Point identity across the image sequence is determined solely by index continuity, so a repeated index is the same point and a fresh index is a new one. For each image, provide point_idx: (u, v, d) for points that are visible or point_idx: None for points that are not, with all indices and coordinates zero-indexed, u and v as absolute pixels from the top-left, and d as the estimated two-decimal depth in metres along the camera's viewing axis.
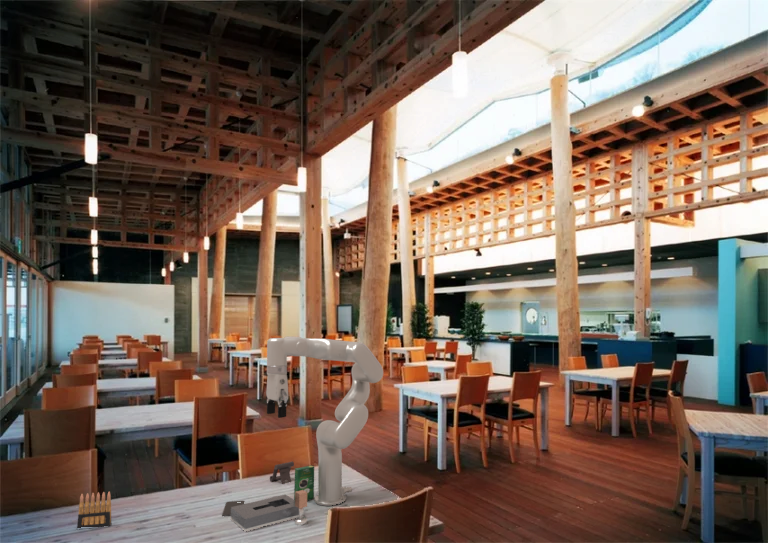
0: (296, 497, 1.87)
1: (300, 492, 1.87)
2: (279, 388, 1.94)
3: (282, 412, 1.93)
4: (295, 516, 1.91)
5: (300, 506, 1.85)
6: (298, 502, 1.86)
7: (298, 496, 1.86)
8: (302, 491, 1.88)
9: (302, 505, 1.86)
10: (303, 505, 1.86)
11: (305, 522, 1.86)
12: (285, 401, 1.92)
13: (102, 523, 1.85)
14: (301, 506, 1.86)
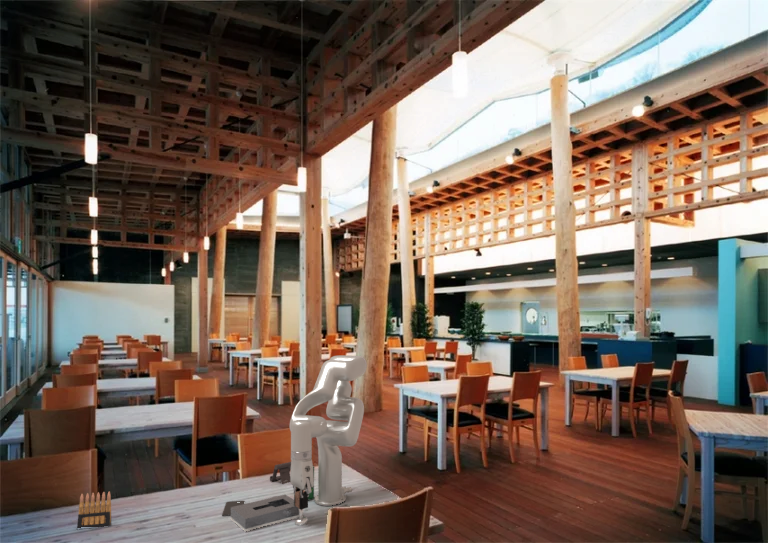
0: (296, 497, 1.87)
1: None
2: (304, 476, 1.84)
3: (304, 503, 1.85)
4: (295, 516, 1.91)
5: None
6: (298, 502, 1.86)
7: (298, 496, 1.86)
8: None
9: None
10: None
11: (305, 522, 1.86)
12: None
13: (102, 523, 1.85)
14: None
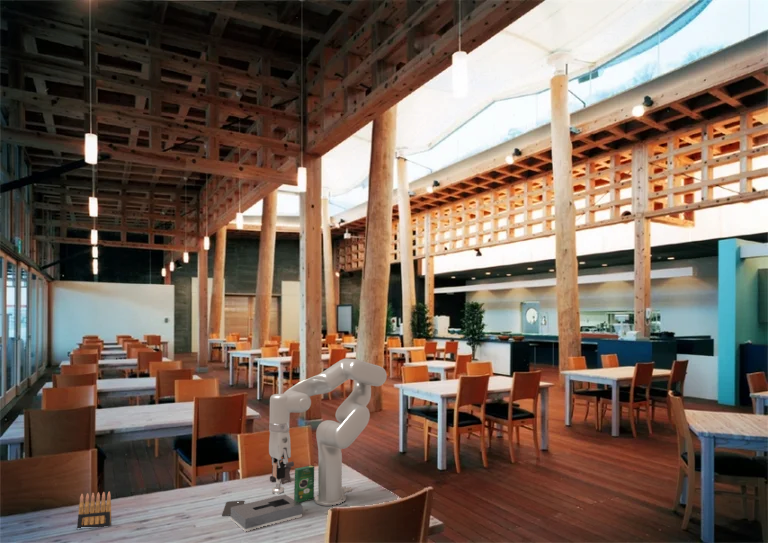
0: (274, 467, 1.95)
1: (277, 463, 1.95)
2: (282, 447, 1.92)
3: (281, 473, 1.93)
4: (295, 516, 1.91)
5: None
6: (275, 472, 1.94)
7: (275, 466, 1.94)
8: (280, 462, 1.96)
9: None
10: None
11: (282, 491, 1.94)
12: None
13: (102, 523, 1.85)
14: None
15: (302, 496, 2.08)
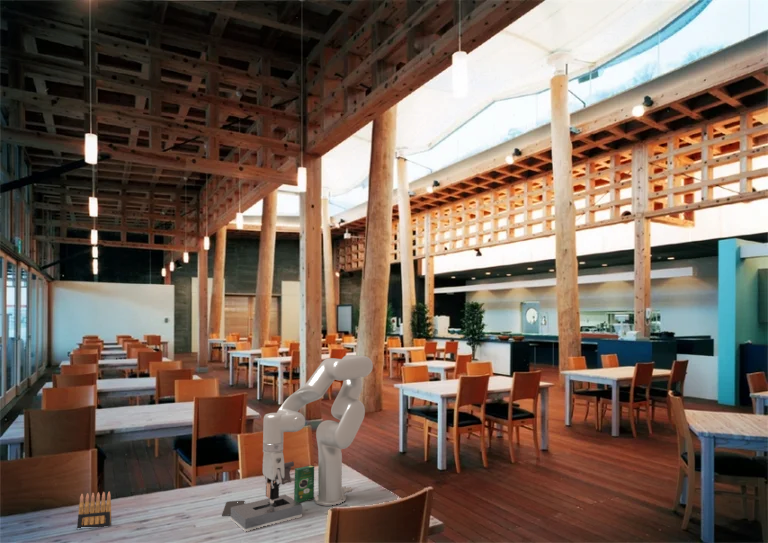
0: (267, 488, 1.93)
1: None
2: (275, 467, 1.90)
3: (274, 494, 1.91)
4: (295, 516, 1.91)
5: None
6: (269, 492, 1.92)
7: (269, 486, 1.92)
8: None
9: None
10: None
11: None
12: None
13: (102, 523, 1.85)
14: None
15: (302, 496, 2.08)
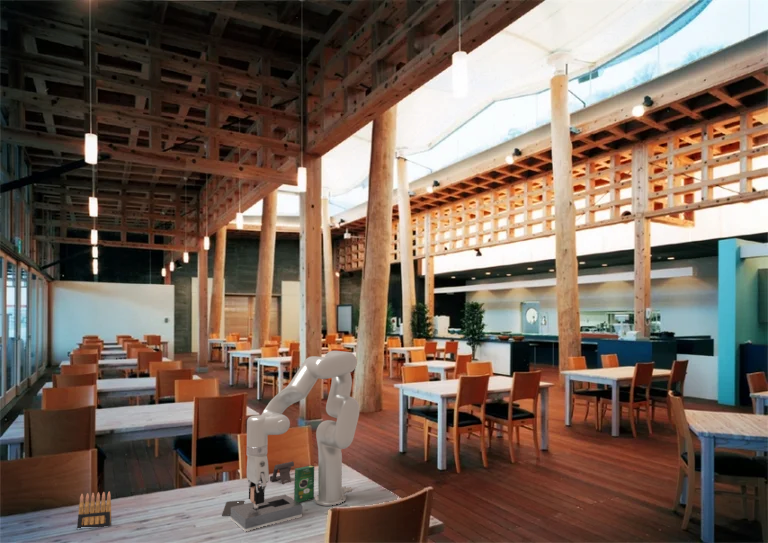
0: (251, 492, 1.89)
1: (255, 487, 1.89)
2: (259, 471, 1.86)
3: (260, 498, 1.86)
4: (295, 516, 1.91)
5: None
6: (253, 497, 1.88)
7: (253, 491, 1.88)
8: None
9: None
10: None
11: None
12: None
13: (102, 523, 1.85)
14: None
15: (302, 496, 2.08)
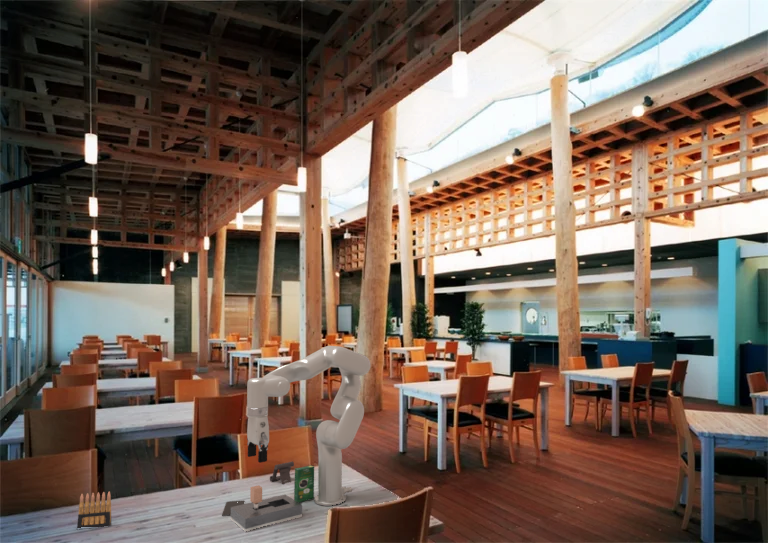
0: (251, 492, 1.89)
1: (255, 487, 1.89)
2: (259, 431, 1.87)
3: (263, 457, 1.86)
4: (295, 516, 1.91)
5: (255, 501, 1.88)
6: (253, 497, 1.88)
7: (253, 491, 1.88)
8: (257, 486, 1.91)
9: (257, 500, 1.88)
10: (258, 500, 1.88)
11: None
12: (265, 445, 1.85)
13: (102, 523, 1.85)
14: (256, 501, 1.88)
15: (302, 496, 2.08)
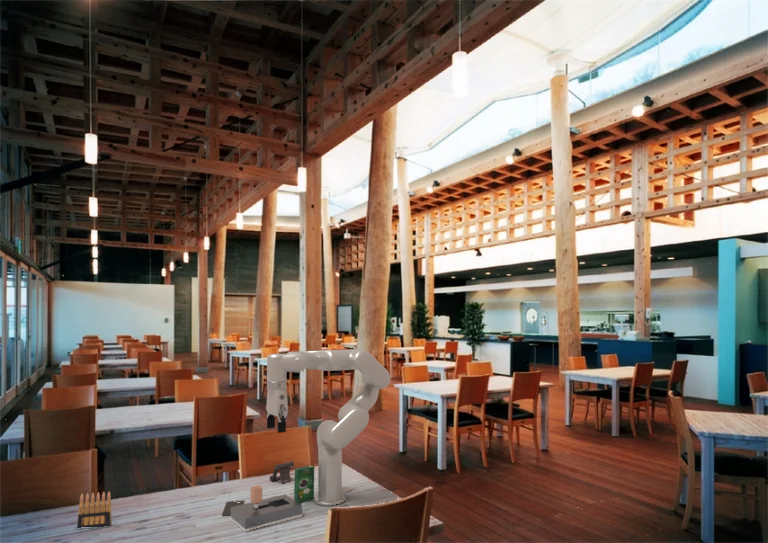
0: (251, 492, 1.89)
1: (255, 487, 1.89)
2: (279, 403, 1.98)
3: (282, 427, 1.97)
4: (295, 516, 1.91)
5: (255, 501, 1.88)
6: (253, 497, 1.88)
7: (253, 491, 1.88)
8: (257, 486, 1.90)
9: (257, 500, 1.88)
10: (258, 500, 1.88)
11: None
12: (285, 416, 1.96)
13: (102, 523, 1.85)
14: (256, 501, 1.88)
15: (302, 496, 2.08)
